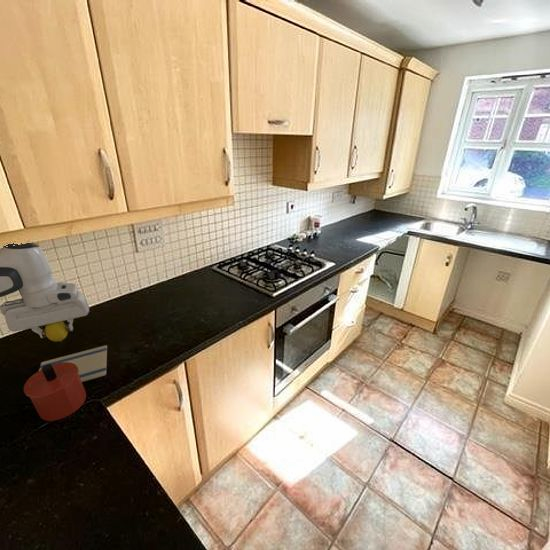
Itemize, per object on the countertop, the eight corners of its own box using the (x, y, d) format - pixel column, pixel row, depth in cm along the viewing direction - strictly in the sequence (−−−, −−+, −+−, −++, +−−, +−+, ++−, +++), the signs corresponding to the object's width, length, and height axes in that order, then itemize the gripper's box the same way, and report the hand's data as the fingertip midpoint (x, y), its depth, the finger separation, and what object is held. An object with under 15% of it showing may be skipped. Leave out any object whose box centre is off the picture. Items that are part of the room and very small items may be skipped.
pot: (35, 427, 81) (21, 402, 77) (43, 396, 90) (31, 372, 86) (84, 411, 85) (74, 386, 81) (87, 383, 95) (78, 359, 90)
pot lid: (19, 406, 76) (11, 392, 74) (30, 373, 86) (23, 360, 84) (76, 389, 81) (70, 375, 79) (81, 359, 91) (75, 346, 89)
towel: (31, 397, 90) (30, 396, 90) (42, 363, 103) (41, 362, 103) (106, 375, 98) (105, 373, 97) (107, 346, 110) (106, 345, 110)
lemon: (51, 349, 92) (42, 327, 88) (49, 340, 96) (40, 319, 92) (72, 341, 95) (64, 320, 91) (69, 333, 99) (61, 313, 95)
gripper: (-7, 309, 81) (13, 349, 87) (80, 291, 89) (93, 329, 95) (0, 298, 86) (19, 336, 92) (82, 282, 94) (94, 319, 100)
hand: (57, 333), depth 94 cm, fingers closed on lemon, 5 cm apart
